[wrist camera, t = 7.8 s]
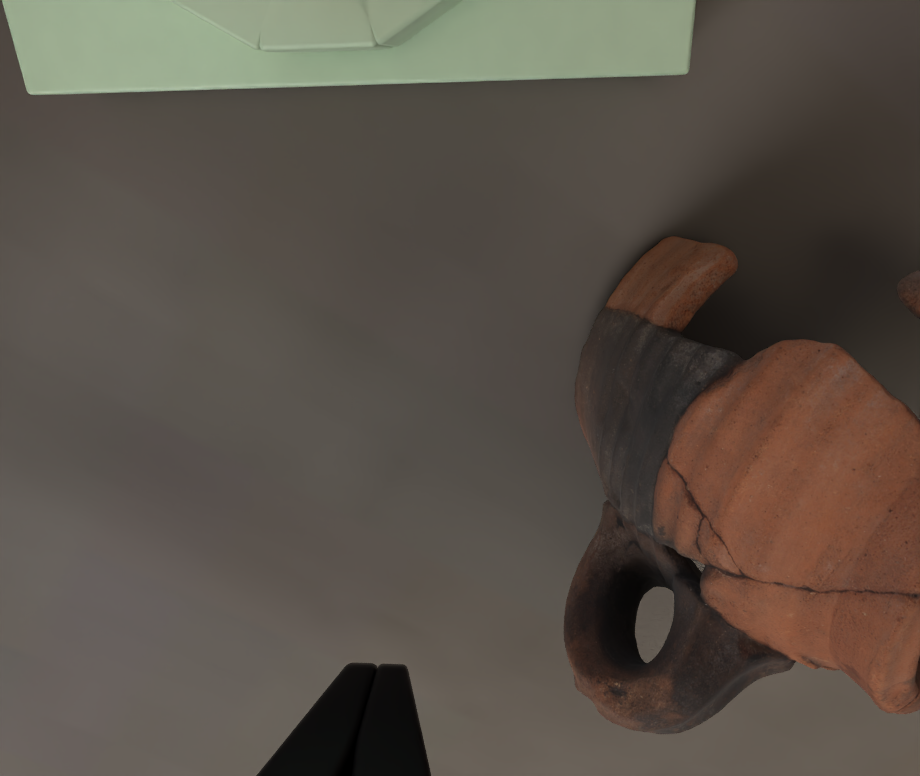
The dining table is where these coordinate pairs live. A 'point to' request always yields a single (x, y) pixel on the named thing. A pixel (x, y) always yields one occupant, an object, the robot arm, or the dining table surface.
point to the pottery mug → (739, 507)
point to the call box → (339, 42)
